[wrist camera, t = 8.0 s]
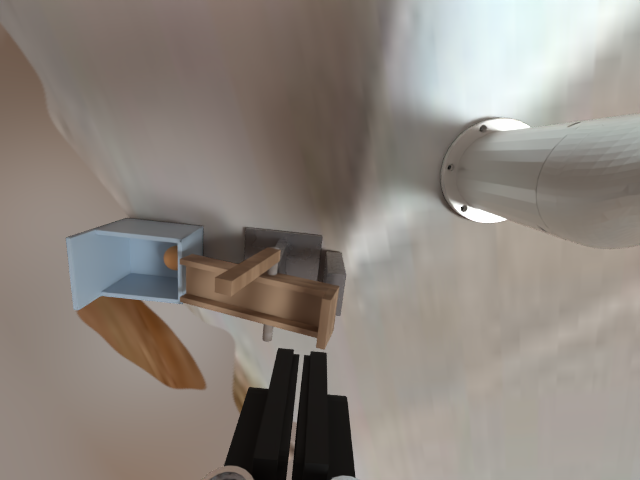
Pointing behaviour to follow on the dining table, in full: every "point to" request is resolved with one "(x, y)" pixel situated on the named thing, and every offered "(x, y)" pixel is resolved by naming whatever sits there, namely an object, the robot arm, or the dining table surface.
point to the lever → (262, 294)
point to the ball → (171, 258)
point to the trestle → (299, 256)
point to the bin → (130, 260)
